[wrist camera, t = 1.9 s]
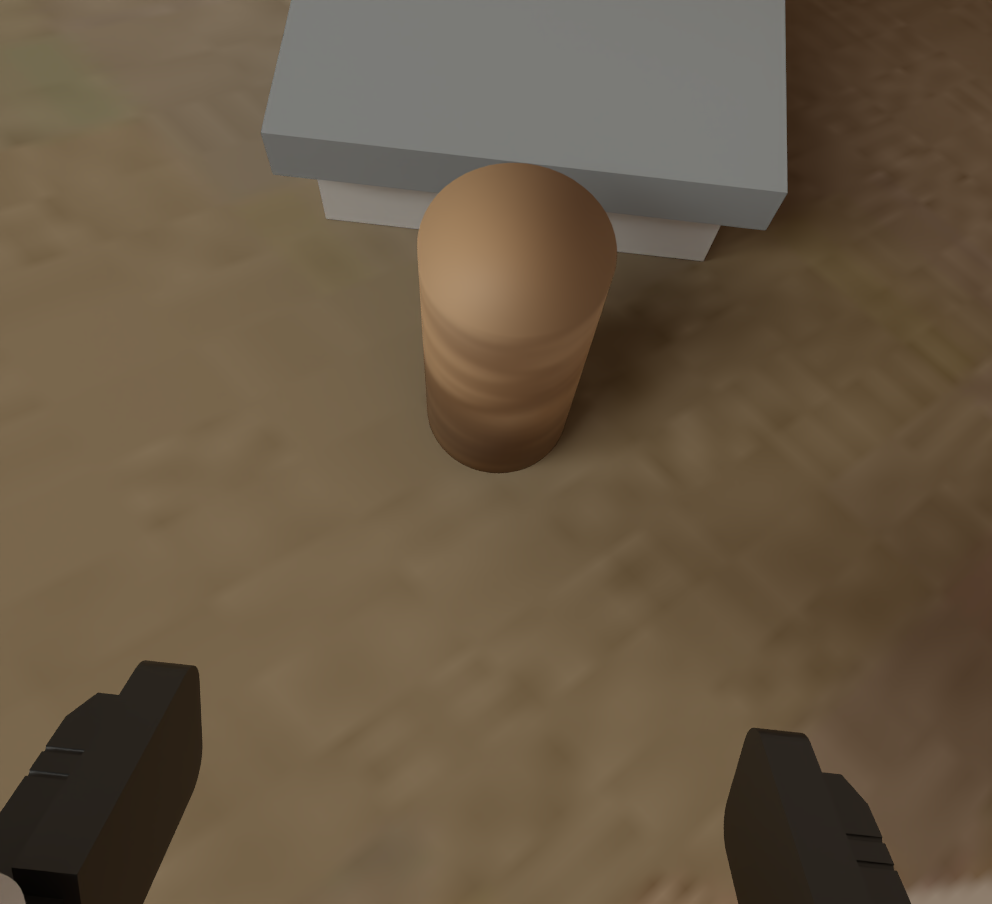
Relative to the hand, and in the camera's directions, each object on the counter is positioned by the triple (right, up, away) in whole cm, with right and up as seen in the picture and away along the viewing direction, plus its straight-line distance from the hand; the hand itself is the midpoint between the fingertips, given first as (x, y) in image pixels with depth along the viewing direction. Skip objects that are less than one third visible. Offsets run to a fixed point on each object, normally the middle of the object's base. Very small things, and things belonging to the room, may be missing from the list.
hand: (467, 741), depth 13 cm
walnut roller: (0, +6, +18) cm, 19 cm away
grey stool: (+2, +17, +22) cm, 28 cm away
